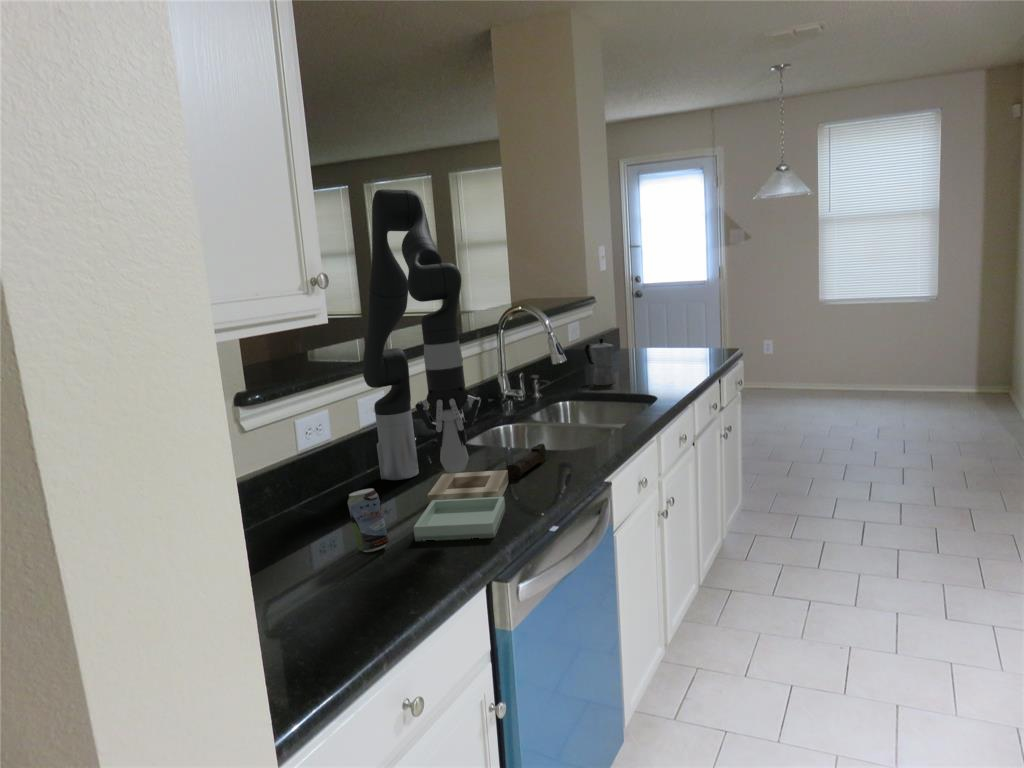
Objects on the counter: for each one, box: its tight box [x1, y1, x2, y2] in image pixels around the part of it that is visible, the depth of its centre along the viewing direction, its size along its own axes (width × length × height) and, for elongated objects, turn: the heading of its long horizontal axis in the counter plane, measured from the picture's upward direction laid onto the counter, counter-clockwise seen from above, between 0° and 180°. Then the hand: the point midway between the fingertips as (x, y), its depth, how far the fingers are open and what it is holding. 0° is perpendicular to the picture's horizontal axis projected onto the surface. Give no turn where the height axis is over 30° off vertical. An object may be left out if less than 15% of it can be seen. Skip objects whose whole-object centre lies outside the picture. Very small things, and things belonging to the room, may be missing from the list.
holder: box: [427, 469, 510, 505], centre depth 178 cm, size 16×16×3 cm
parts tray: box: [413, 496, 506, 542], centre depth 158 cm, size 16×16×3 cm
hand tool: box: [505, 443, 547, 480], centre depth 195 cm, size 19×4×5 cm, turn 150°
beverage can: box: [347, 487, 389, 553], centre depth 149 cm, size 6×7×12 cm
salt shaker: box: [439, 409, 470, 474], centre depth 156 cm, size 6×6×13 cm
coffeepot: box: [584, 337, 617, 386], centre depth 301 cm, size 15×9×18 cm, turn 44°
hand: (453, 447), depth 156 cm, fingers closed on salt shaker, 3 cm apart
